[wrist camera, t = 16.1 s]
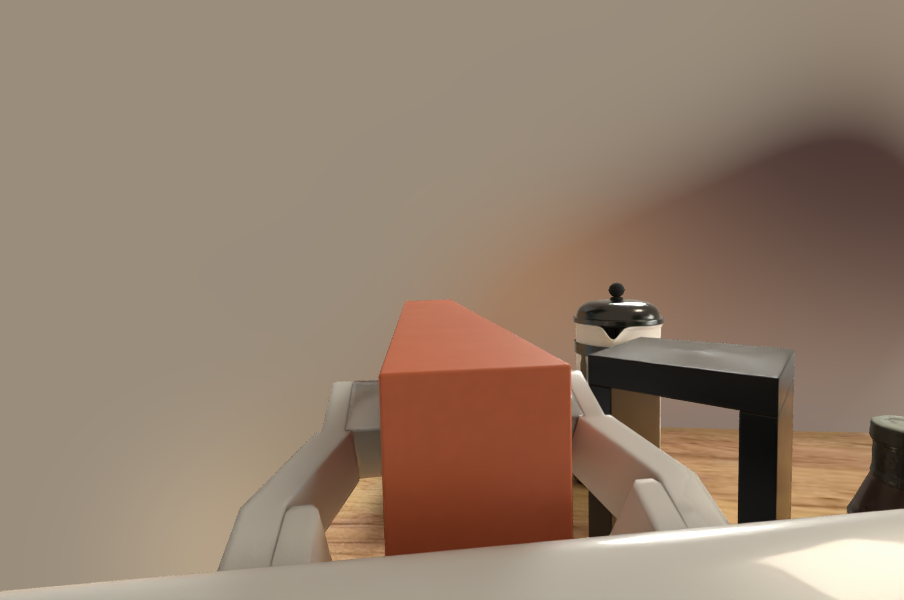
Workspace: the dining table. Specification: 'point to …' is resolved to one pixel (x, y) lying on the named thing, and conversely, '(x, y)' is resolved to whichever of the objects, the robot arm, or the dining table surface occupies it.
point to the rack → (712, 383)
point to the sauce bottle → (883, 468)
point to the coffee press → (612, 325)
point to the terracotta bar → (472, 435)
